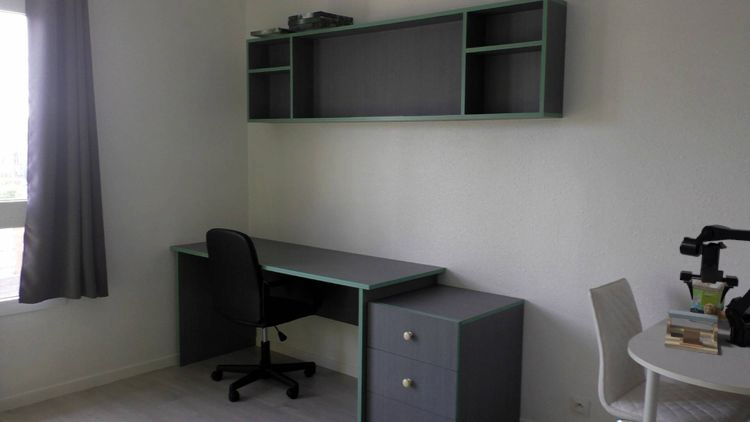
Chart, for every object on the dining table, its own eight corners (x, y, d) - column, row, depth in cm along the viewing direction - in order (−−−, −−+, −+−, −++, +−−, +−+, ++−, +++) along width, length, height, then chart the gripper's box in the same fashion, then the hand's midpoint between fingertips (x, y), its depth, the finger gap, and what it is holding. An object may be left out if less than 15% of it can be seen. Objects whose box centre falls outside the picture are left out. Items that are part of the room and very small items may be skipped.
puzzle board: (717, 354, 212) (718, 341, 212) (664, 346, 219) (665, 333, 219) (715, 334, 235) (716, 321, 234) (667, 327, 242) (668, 314, 241)
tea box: (716, 325, 245) (720, 288, 243) (688, 320, 251) (691, 283, 249) (723, 317, 257) (727, 281, 255) (696, 312, 263) (699, 277, 261)
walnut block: (699, 345, 216) (700, 332, 216) (682, 342, 219) (683, 329, 218) (699, 341, 221) (700, 328, 220) (683, 338, 223) (684, 326, 222)
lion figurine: (703, 328, 242) (705, 304, 241) (701, 324, 247) (703, 301, 246) (747, 332, 238) (749, 308, 237) (743, 328, 243) (746, 305, 242)
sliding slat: (717, 323, 231) (717, 319, 230) (668, 316, 238) (668, 312, 238) (717, 320, 235) (717, 315, 235) (669, 313, 242) (669, 309, 242)
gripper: (681, 260, 229) (677, 303, 231) (741, 266, 220) (736, 310, 222) (681, 255, 238) (678, 296, 240) (739, 260, 230) (735, 303, 232)
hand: (706, 301), depth 234 cm, fingers open, 9 cm apart
